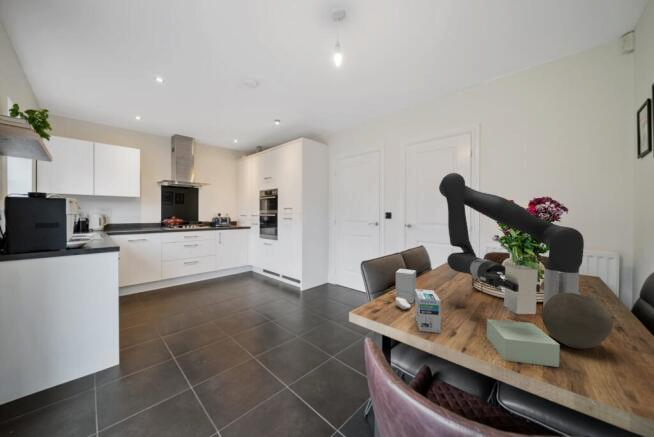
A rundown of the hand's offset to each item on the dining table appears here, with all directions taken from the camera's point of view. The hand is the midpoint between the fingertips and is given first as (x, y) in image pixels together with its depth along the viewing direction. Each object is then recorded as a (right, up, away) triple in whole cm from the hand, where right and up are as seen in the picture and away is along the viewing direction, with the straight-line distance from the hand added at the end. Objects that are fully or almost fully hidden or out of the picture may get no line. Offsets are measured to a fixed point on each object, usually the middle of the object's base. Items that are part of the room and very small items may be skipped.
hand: (527, 288), depth 66 cm
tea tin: (0, -7, +3) cm, 7 cm away
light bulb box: (-20, -18, +19) cm, 32 cm away
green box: (0, -19, +3) cm, 19 cm away
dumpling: (-23, -17, +33) cm, 44 cm away
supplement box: (-19, -17, +43) cm, 50 cm away
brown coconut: (+18, -18, +6) cm, 27 cm away
